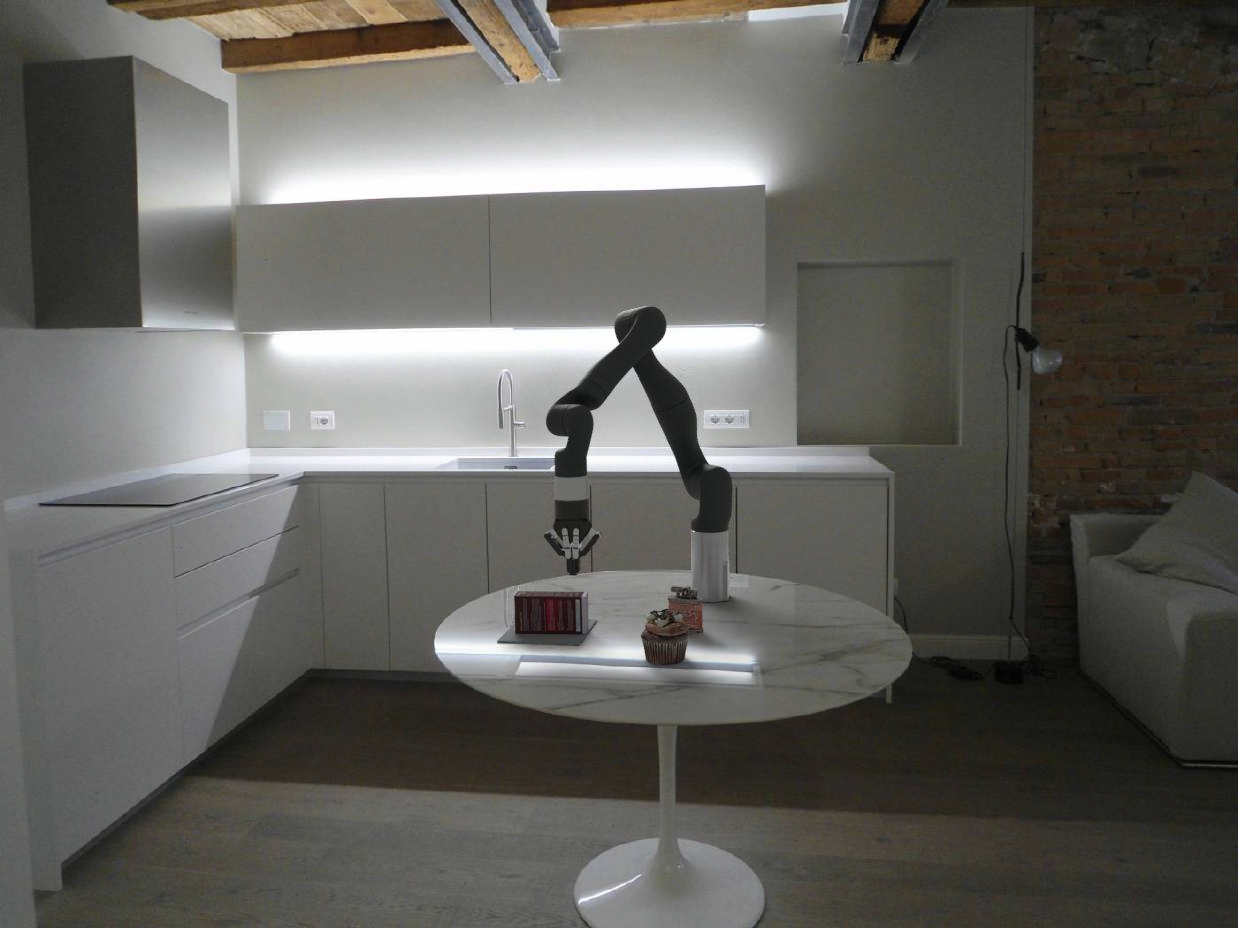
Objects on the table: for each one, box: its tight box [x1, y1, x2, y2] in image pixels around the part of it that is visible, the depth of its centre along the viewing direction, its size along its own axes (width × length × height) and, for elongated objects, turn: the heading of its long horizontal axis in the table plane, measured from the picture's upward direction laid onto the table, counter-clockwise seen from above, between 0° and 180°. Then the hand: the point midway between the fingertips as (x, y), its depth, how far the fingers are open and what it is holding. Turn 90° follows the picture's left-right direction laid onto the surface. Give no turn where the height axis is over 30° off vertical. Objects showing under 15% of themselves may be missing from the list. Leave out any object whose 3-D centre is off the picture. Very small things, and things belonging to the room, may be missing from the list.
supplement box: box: [513, 590, 589, 634], centre depth 205 cm, size 9×5×16 cm
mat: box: [496, 618, 598, 646], centre depth 207 cm, size 18×18×1 cm
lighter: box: [667, 585, 704, 635], centre depth 205 cm, size 8×3×10 cm, turn 65°
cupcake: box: [640, 608, 690, 666], centre depth 187 cm, size 10×10×10 cm
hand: (573, 574), depth 204 cm, fingers closed
